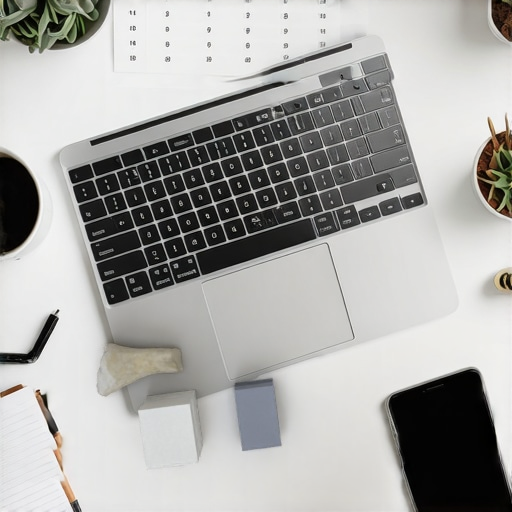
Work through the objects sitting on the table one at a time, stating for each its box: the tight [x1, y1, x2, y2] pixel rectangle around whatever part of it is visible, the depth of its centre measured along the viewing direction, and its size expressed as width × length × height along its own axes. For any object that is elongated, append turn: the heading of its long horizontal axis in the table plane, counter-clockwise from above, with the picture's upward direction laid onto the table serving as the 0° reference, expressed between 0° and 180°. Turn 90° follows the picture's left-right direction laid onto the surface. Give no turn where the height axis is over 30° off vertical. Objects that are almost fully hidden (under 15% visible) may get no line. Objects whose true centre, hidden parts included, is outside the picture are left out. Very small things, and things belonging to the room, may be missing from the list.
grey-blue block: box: [233, 378, 282, 452], centre depth 72 cm, size 8×5×3 cm, turn 8°
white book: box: [137, 399, 201, 471], centre depth 69 cm, size 8×6×2 cm
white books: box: [141, 389, 204, 457], centre depth 72 cm, size 8×6×4 cm
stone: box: [96, 342, 184, 397], centre depth 71 cm, size 11×6×5 cm, turn 108°
